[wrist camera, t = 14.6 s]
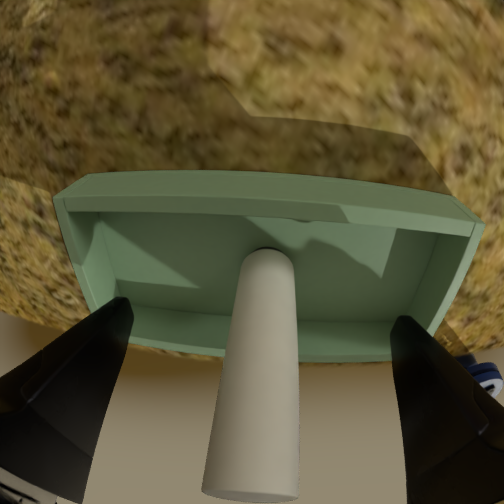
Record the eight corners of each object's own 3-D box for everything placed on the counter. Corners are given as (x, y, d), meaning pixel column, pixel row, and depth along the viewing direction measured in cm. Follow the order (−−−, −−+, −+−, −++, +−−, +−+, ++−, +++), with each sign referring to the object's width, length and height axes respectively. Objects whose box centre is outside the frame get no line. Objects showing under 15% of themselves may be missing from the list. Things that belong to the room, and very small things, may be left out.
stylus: (298, 277, 12) (306, 501, 4) (252, 287, 12) (224, 500, 5) (285, 235, 11) (285, 491, 3) (234, 249, 11) (182, 486, 4)
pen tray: (454, 195, 9) (486, 224, 7) (405, 322, 13) (418, 359, 11) (87, 173, 10) (51, 197, 8) (120, 303, 14) (101, 337, 12)
